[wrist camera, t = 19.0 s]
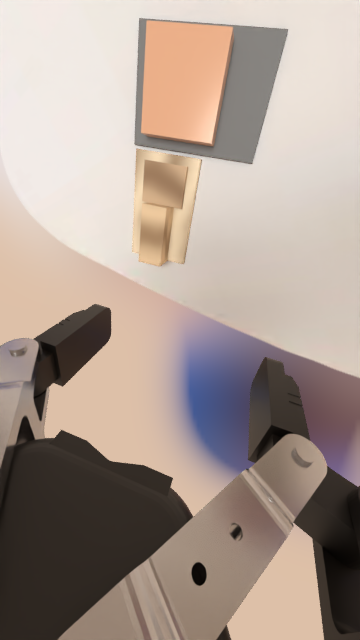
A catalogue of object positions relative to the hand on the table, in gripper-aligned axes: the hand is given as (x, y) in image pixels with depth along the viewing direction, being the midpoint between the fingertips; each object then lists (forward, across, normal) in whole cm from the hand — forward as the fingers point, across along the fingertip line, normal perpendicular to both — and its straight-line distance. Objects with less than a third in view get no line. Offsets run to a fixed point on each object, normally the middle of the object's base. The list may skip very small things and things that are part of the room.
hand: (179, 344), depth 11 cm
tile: (+25, +5, -16) cm, 30 cm away
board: (+26, +11, -3) cm, 29 cm away
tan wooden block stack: (+25, +11, -2) cm, 28 cm away
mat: (+26, +8, -16) cm, 32 cm away
